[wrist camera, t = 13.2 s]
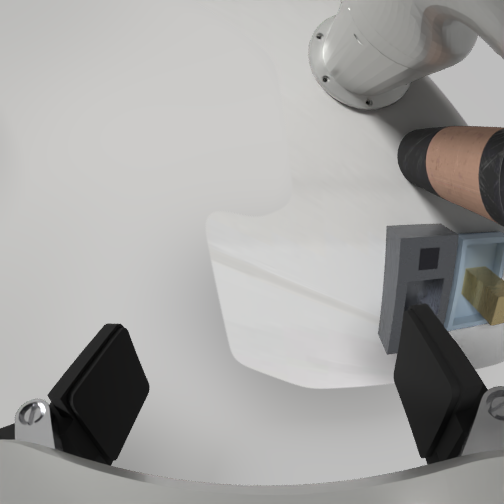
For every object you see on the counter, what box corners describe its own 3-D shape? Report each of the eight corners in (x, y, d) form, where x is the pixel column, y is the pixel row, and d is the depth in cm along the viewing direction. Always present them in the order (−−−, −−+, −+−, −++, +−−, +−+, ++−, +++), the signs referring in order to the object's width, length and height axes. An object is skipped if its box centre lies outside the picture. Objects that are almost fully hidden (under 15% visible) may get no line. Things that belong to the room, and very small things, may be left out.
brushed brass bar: (465, 268, 36) (498, 297, 27) (485, 266, 35) (519, 293, 27) (461, 293, 37) (490, 325, 29) (480, 290, 37) (511, 320, 28)
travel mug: (383, 156, 33) (479, 177, 14) (420, 114, 31) (531, 106, 12) (421, 200, 34) (522, 258, 16) (456, 160, 32) (568, 189, 13)
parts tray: (454, 233, 35) (463, 239, 33) (499, 231, 34) (509, 236, 32) (440, 322, 40) (446, 331, 37) (483, 314, 39) (490, 322, 36)
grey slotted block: (386, 226, 36) (400, 238, 31) (440, 223, 35) (459, 235, 30) (378, 333, 41) (387, 354, 36) (426, 327, 40) (438, 346, 35)
